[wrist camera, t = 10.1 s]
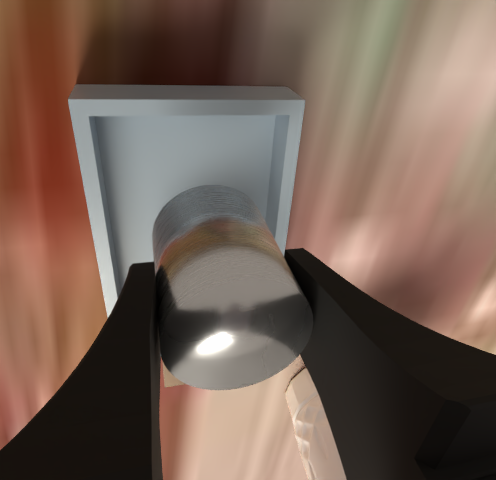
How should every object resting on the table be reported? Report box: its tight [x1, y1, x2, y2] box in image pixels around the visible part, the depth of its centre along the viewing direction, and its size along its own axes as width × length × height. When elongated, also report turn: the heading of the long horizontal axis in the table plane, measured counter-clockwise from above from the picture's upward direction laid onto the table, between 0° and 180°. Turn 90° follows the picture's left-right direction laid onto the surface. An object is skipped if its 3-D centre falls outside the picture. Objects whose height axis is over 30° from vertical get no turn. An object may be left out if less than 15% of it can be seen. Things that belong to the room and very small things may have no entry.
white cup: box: [285, 368, 347, 480], centre depth 28 cm, size 8×8×10 cm
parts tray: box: [68, 84, 305, 317], centre depth 20 cm, size 9×14×2 cm, turn 176°
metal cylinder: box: [152, 185, 313, 390], centre depth 12 cm, size 4×4×5 cm
